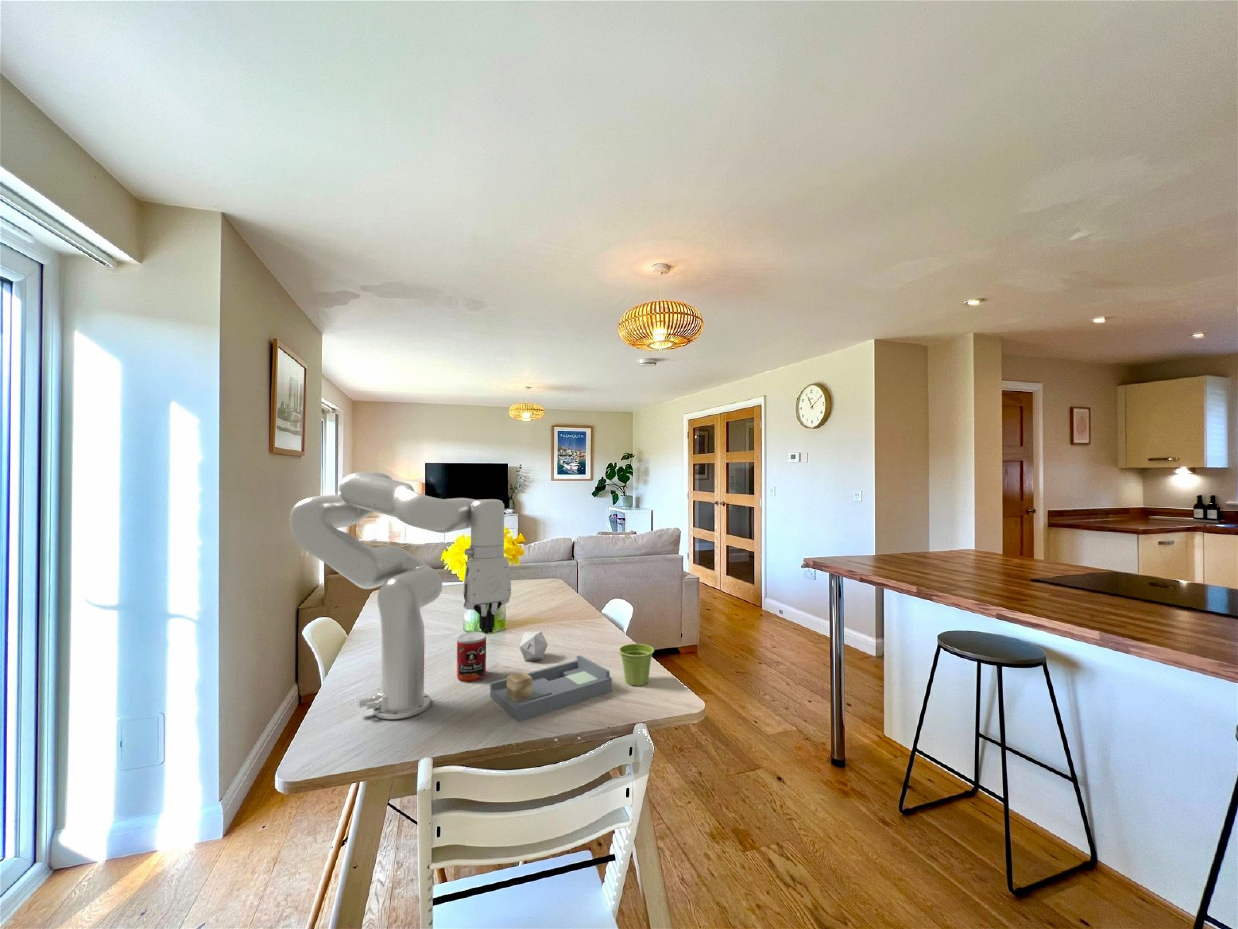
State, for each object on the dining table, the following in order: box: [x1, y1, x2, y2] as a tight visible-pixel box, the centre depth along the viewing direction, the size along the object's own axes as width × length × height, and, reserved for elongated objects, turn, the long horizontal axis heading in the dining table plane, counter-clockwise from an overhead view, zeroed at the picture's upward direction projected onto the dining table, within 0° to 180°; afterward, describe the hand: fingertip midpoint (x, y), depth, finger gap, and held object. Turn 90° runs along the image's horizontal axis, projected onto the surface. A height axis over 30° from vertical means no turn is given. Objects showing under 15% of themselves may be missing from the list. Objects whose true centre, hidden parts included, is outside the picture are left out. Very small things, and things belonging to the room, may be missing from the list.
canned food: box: [456, 631, 487, 683], centre depth 138 cm, size 8×8×11 cm
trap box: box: [489, 654, 613, 723], centre depth 127 cm, size 26×16×5 cm, turn 128°
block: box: [506, 671, 532, 701], centre depth 122 cm, size 4×4×4 cm
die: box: [519, 630, 549, 662], centre depth 152 cm, size 8×9×10 cm
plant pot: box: [618, 643, 655, 687], centre depth 135 cm, size 9×9×9 cm
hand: (486, 631), depth 117 cm, fingers closed
